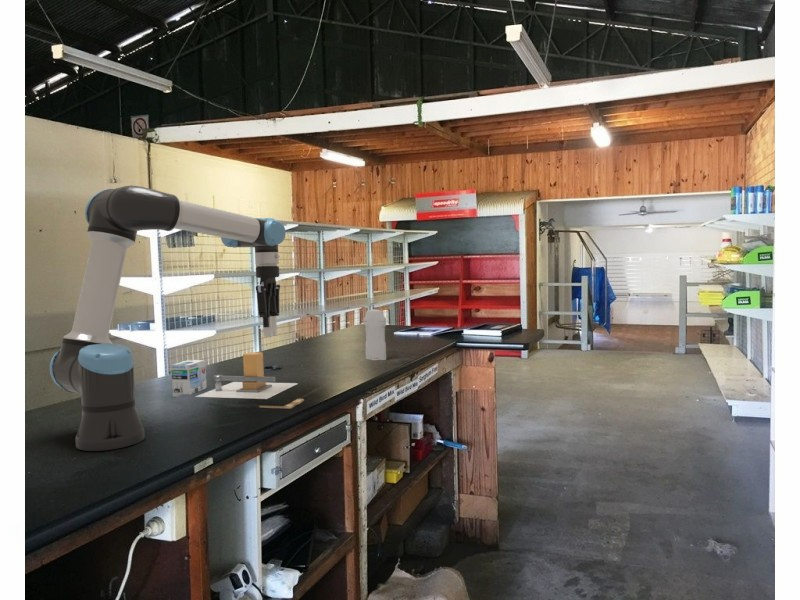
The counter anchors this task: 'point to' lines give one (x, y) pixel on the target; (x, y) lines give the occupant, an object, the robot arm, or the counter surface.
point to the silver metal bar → (243, 378)
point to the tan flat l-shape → (288, 405)
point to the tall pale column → (375, 335)
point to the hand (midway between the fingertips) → (270, 336)
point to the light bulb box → (188, 377)
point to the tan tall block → (253, 370)
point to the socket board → (237, 390)
